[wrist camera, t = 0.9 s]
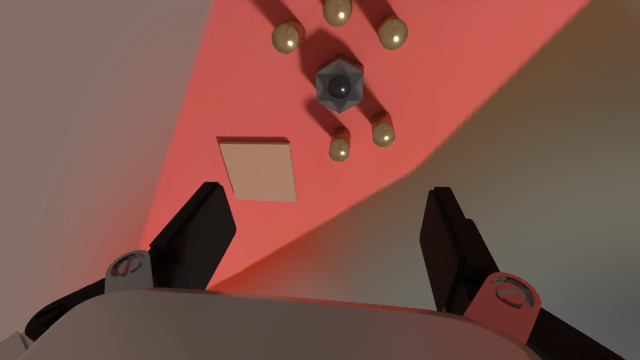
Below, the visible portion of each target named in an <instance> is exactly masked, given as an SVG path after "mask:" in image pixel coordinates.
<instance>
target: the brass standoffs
mask: <svg viewBox="0 0 640 360" xmlns="http://www.w3.org/2000/svg"><path fill="white" fill-rule="evenodd" d="M352 9H353V5H352V1H351V0H326V1H325V3H324V7H323V14H324V17H325V19H326V21H327V22H328V23H329V24H330V25H332V26H341V25H343V24H345V23H346V22H347V20H348V19H349V17H350V15H351V13H352ZM377 33H378V36H379V39H380V42H381V44H382V45H383V46H384V47H385V48H386V49H389V50H395V49H398V48H399V47H401V46H402V45H403V44H404V43H405V41H406V39H407V36H408V29H407V26H406V24H405V23H404V22H403V21H402V20H401V19H399V18H398V17H396V16H394V15H388V16H386V17H384V18H383V19H382V20H381V21H380V22H379V24H378V28H377ZM304 39H305V29H304V27H303V25H302V24H301V23H300V22H298V21H295V20H292V21H289V22H286V23H284V24H282V25H279V26H277V27H276V28H275V29H274V31H273V33H272V43H273V45H274V47H275V48H276V50H277V51H279V52H281V53H284V54H288V53H291V52H292V51H293V50H294V49H296V48H297V47H298V46H299V45H300V44H301V43H302V42H303V41H304ZM372 134H373V141H374V143H375V144H376V145H378V146H380V147H386V146H389V145H391V144H392V143H393V142H394V140H395V132H394V128H393V123H392V119H391V116H390V115H389V114H388V113H387V112H383V111H382V112H378V113H376V114H375V115H374V116H373V118H372ZM350 139H351V134H350V131H349V130H348V129H346V128H344V127H339V128H336V129H335V130H334V131H333V134H332V139H331V144H330V148H329V155H330V157H331V158H332V159H333V160H335V161H344V160H346V159H347V158H348V156H349V151H350Z"/></svg>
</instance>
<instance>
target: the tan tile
mask: <svg viewBox="0 0 640 360" xmlns="http://www.w3.org/2000/svg"><path fill="white" fill-rule="evenodd" d="M219 145H220V148H221V152H222V155H223V158H224V161H225V164H226V168H227V171H228V174H229V177H230V181H231V184H232V187H233V190H234V193H235V197H236V199H243V200H266V201H289V202H297V200H298V196H297V189H296V181H295V174H294V166H293V159H292V151H291V144H290V142H249V141H221V142H220V143H219Z"/></svg>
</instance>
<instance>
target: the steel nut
mask: <svg viewBox="0 0 640 360" xmlns="http://www.w3.org/2000/svg"><path fill="white" fill-rule="evenodd" d="M363 77H364V66H362V65H361V64H359V63H357V62H356V61H354V60H352V59H351V58H349V57H347V56H345V55H344V54H342V53H340V54H338V55H337V56H335V57H334V58H332V59H331V60H329V61H328V62H326V63H325V64H323V65H322V66H320V67H319V68H318V70H317V72H316V74H315V78H316V94H317V101H318V102H319V103H321V104H323V105H325V106H327V107H328V108H330V109H332V110H334V111H336V112H338V113H339V114H340V113H342V112H343V111H345V110H347V109H349V108H350V107H352V106H354V105H356V104H358V103H359V102H361V101H363Z"/></svg>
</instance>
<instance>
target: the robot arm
mask: <svg viewBox="0 0 640 360" xmlns="http://www.w3.org/2000/svg"><path fill="white" fill-rule="evenodd" d="M235 233H236V225H235V222H234V219H233V216H232V213H231V210H230V207H229V203H228V200H227V197H226V194H225V191H224V188H223V186H222V185H220V184H219V183H218V182H205V183H203V184H202V186H201V187H200V188H199V189H198V190H197V191H196V192H195V194H194V195H193V196H192V197H191V198H190V199H189V200H188V202H187V203H186V204H185V205H184V206H183V207H182V208H181V210H180V211H179V212H178V213H177V214H176V215H175V216H174V217H173V219H172V220H171V221H170V222H169V223H168V224H167V225H166V227H165V228H164V229H163V230H162V231H161V232H160V233H159V235H158V236H157V237H156V238H155V239H154V240H153V241H152V243H151V244H150V245H149V246H150V247H151V249H150V250H149V251H148V252H147V251H145V250H134V251H131V252H128V253H126V254H124V255H122V256H120V257H119V258H117V259H116V260H115V261H114V262H113V263H112V264H111V265H110V266H109V267H108V269H107V272H106V277H105V278H103V279H101V280H99V281H97V282H95V283H93V284H91V285H88V286H86V287H84V288H82V289H80V290H78V291H75V292H73V293H71V294H69V295H67V296H65V297H63V298H61V299H58V300H56V301H54V302H52V303H51V304H49V305H47V306H45V307H44V308H43V309H41V310H40V311H39V312H38V313H36V314H35V315H34V316H33V317H32V319H31V320H30V321H29V322H28V324H27V326H26V328H25V332H23V333H19V332H16V333H14V334H13V335H11V336H10V337H8V338H7V339H5V340H3V341H2V342H0V360H625V359H623V358H622V357H621V356H619V355H617V354H616V353H614V352H613V351H611V350H609V349H608V348H606V347H605V346H603V345H601V344H600V343H598V342H596V341H595V340H593V339H592V338H590V337H588V336H587V335H585V334H583V333H582V332H580V331H579V330H577V329H575V328H574V327H572V326H570V325H569V324H567V323H566V322H564V321H562V320H561V319H559V318H558V317H556V316H554V315H553V314H551V313H550V312H548V311H546V310H545V309H543V308H541V299H540V297H539V294H538V293H537V292H536V290H535V289H534V288H533V287H532V286H531V285H530V284H529V283H528V282H526V281H525V280H523V279H521V278H520V277H517V276H515V275H512V274H509V273H504V272H500V271H499V269H498V267H497V265H496V263H495V261H494V259H493V257H492V256H491V254H490V252H489V250H488V248H487V246H486V244H485V242H484V240H483V239H482V237H481V235H480V233H479V231H478V229H477V227H476V225H475V223H474V222H473V220H471V219H466V218H465V216H464V214H463V212H462V210H461V208H460V206H459V204H458V202H457V200H456V198H455V196H454V194H453V192H452V190H451V189H450V187H435V188H434V190H430V191H429V194H428V198H427V203H426V208H425V213H424V218H423V222H422V228H421V232H420V245H421V249H422V253H423V257H424V261H425V265H426V268H427V273H428V277H429V280H430V284H431V288H432V292H433V296H434V300H435V304H436V308H437V311H432V310H426V309H417V308H408V307H398V306H389V305H378V304H367V303H356V302H344V301H333V300H321V299H310V298H297V297H285V296H273V295H260V294H248V293H236V292H223V291H210V290H205V289H206V287H207V285H208V283H209V281H210V280H211V278H212V276H213V274H214V272H215V270H216V269H217V267H218V265H219V263H220V261H221V259H222V258H223V256H224V254H225V252H226V250H227V248H228V246H229V245H230V243H231V241H232V239H233V237H234V235H235Z"/></svg>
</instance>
